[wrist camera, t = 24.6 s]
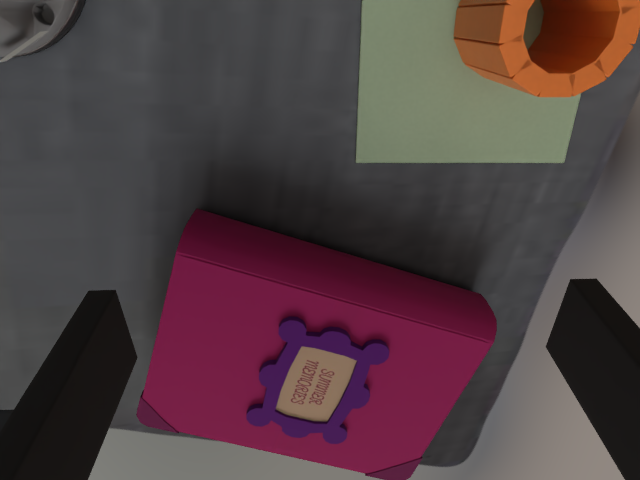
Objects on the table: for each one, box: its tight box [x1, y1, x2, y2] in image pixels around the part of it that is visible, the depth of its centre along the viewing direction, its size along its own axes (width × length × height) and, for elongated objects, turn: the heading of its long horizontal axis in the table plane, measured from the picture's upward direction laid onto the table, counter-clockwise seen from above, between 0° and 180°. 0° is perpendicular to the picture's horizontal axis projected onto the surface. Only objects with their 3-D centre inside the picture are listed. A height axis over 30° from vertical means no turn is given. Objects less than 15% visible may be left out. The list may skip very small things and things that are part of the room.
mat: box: [356, 0, 581, 163], centre depth 35 cm, size 18×20×1 cm
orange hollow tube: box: [454, 0, 640, 97], centre depth 30 cm, size 8×8×10 cm
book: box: [136, 209, 497, 480], centre depth 44 cm, size 21×28×8 cm
